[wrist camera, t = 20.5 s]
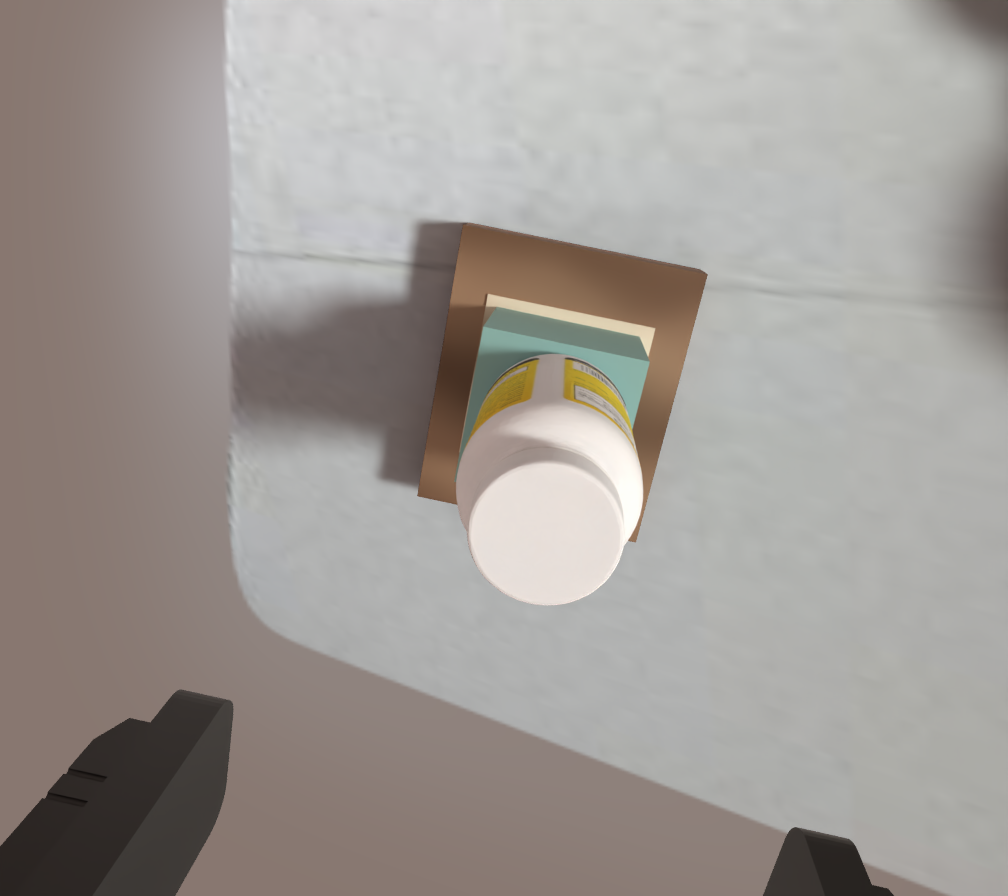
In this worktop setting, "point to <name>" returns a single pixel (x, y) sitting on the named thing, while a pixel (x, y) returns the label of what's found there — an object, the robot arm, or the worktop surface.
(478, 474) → the supplement bottle
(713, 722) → the worktop surface
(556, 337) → the teal block
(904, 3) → the worktop surface
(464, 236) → the base board
